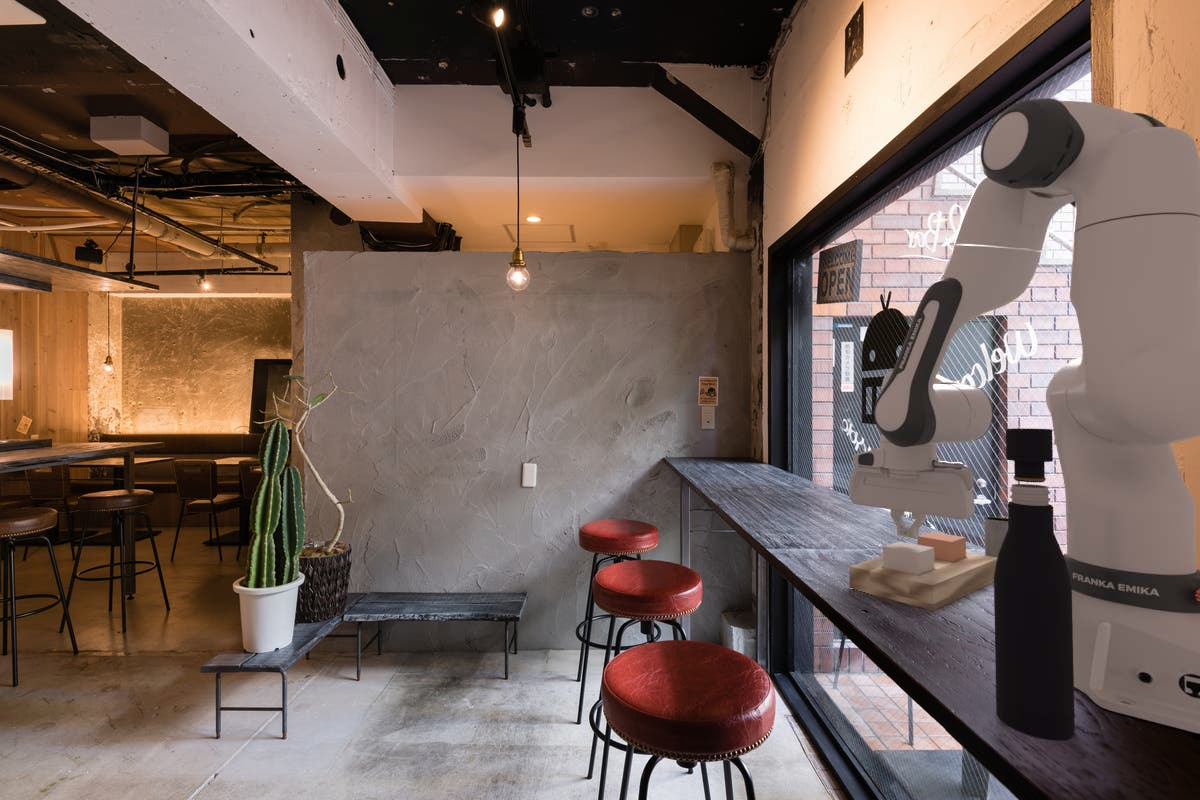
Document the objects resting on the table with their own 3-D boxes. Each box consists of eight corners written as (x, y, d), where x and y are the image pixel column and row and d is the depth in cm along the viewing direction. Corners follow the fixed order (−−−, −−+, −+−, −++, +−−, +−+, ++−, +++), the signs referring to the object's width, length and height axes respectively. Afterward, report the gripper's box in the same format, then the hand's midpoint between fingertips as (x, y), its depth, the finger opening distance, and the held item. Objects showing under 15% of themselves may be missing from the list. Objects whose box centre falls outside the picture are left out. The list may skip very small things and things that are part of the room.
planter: (979, 569, 114) (978, 517, 114) (996, 567, 115) (995, 515, 115) (1001, 575, 110) (1000, 521, 110) (1019, 573, 111) (1018, 520, 111)
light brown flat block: (999, 579, 107) (998, 557, 107) (933, 610, 91) (932, 585, 91) (920, 563, 118) (920, 544, 119) (849, 588, 102) (849, 566, 102)
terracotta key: (966, 558, 108) (965, 537, 108) (952, 563, 105) (951, 541, 105) (932, 552, 113) (931, 531, 113) (917, 557, 109) (917, 536, 109)
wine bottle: (1066, 748, 54) (1059, 430, 55) (987, 720, 59) (981, 429, 60) (1082, 724, 58) (1075, 428, 59) (1007, 699, 63) (1002, 427, 64)
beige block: (934, 570, 100) (934, 547, 100) (918, 576, 97) (917, 553, 97) (899, 563, 105) (899, 541, 105) (882, 569, 102) (882, 546, 102)
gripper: (981, 462, 95) (981, 546, 95) (862, 453, 111) (862, 525, 111) (965, 464, 91) (965, 551, 91) (844, 455, 108) (844, 529, 107)
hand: (907, 537), depth 101 cm, fingers closed
